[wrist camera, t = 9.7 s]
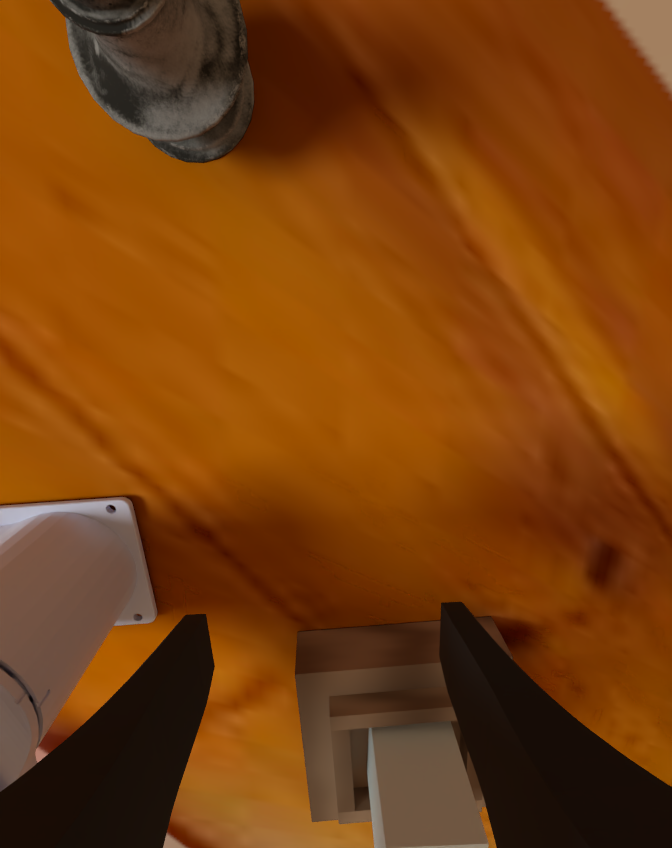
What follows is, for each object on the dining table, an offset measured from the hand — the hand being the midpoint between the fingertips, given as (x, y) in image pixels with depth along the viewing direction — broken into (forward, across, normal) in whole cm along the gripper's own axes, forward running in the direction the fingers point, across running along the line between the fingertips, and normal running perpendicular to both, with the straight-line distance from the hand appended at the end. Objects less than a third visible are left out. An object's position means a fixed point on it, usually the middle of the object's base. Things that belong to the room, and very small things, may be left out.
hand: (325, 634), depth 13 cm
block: (+7, -4, +15) cm, 18 cm away
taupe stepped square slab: (+10, -4, +16) cm, 19 cm away
